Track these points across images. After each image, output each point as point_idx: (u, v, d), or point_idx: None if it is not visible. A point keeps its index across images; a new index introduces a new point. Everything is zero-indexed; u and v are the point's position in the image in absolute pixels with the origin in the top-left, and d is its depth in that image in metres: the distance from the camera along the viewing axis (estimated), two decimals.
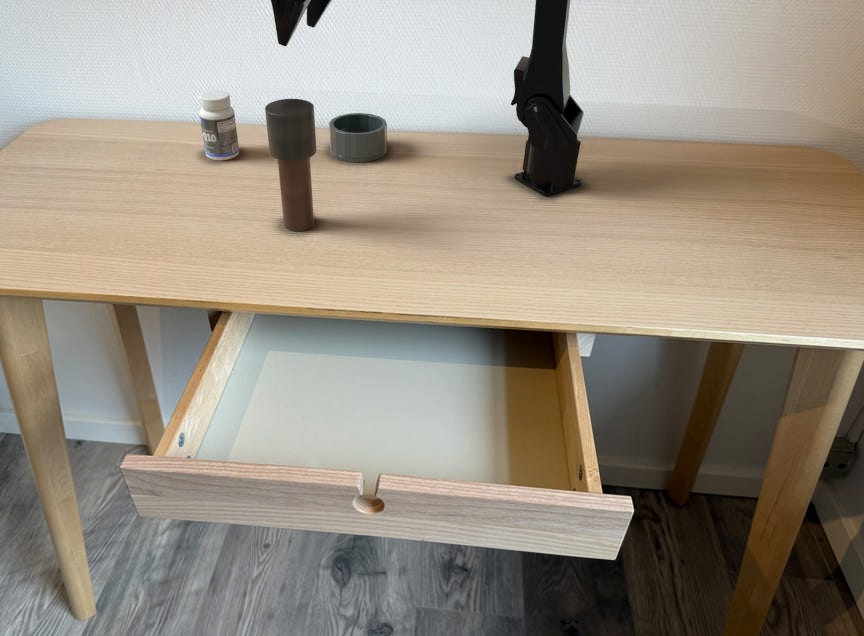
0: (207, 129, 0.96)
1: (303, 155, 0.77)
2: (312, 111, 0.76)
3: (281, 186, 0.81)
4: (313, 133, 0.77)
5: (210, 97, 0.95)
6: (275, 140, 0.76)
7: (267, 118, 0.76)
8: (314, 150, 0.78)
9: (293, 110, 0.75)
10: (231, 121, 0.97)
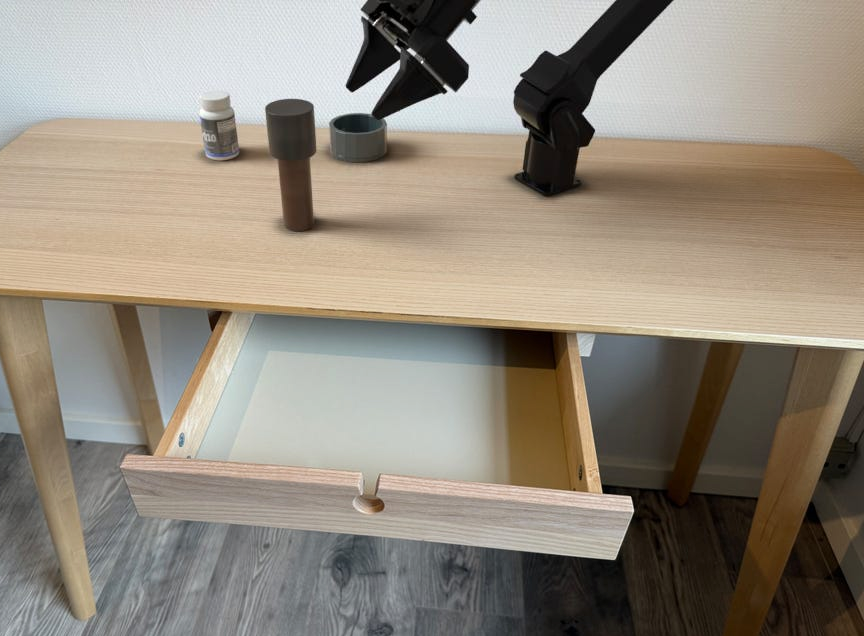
0: (207, 129, 0.96)
1: (303, 155, 0.77)
2: (312, 111, 0.76)
3: (281, 186, 0.81)
4: (313, 133, 0.77)
5: (210, 97, 0.95)
6: (275, 140, 0.76)
7: (267, 118, 0.76)
8: (314, 150, 0.78)
9: (293, 110, 0.75)
10: (231, 121, 0.97)
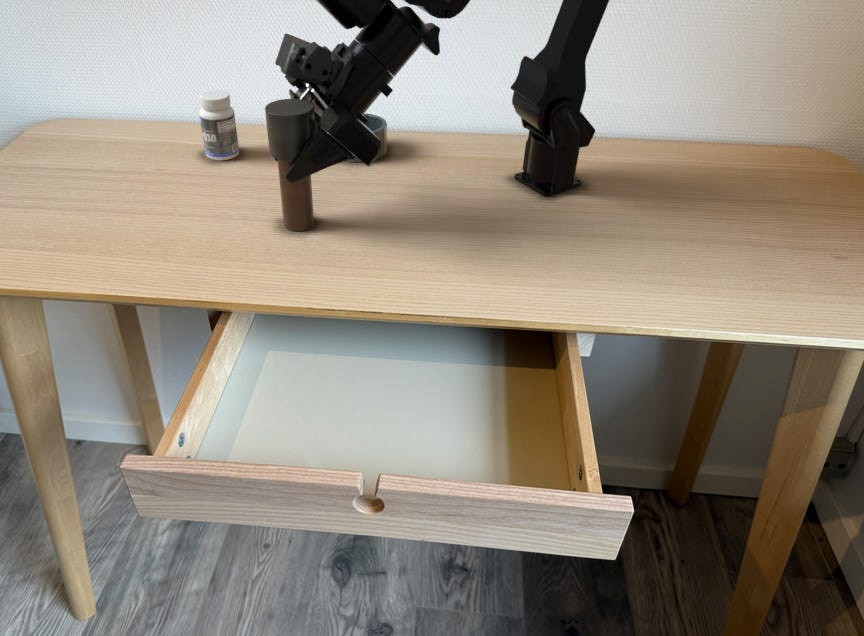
0: (207, 129, 0.96)
1: None
2: (312, 111, 0.76)
3: (281, 186, 0.81)
4: None
5: (210, 97, 0.95)
6: (275, 140, 0.76)
7: (267, 118, 0.76)
8: None
9: (293, 110, 0.75)
10: (231, 121, 0.97)
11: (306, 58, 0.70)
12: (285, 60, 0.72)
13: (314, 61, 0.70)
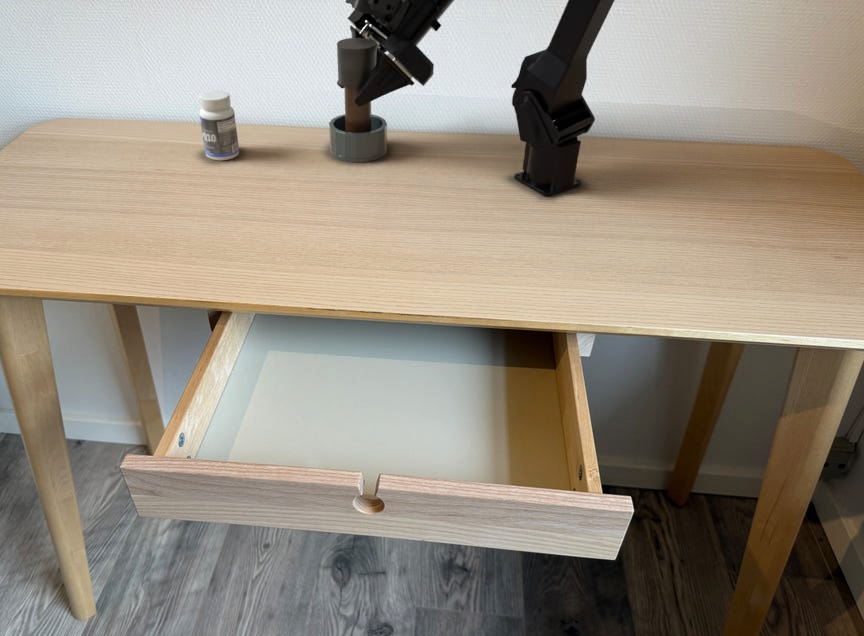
0: (207, 129, 0.96)
1: None
2: (376, 46, 0.92)
3: (346, 112, 0.97)
4: (375, 65, 0.94)
5: (210, 97, 0.95)
6: (345, 70, 0.93)
7: (339, 52, 0.92)
8: None
9: (360, 45, 0.92)
10: (231, 121, 0.97)
11: None
12: None
13: None
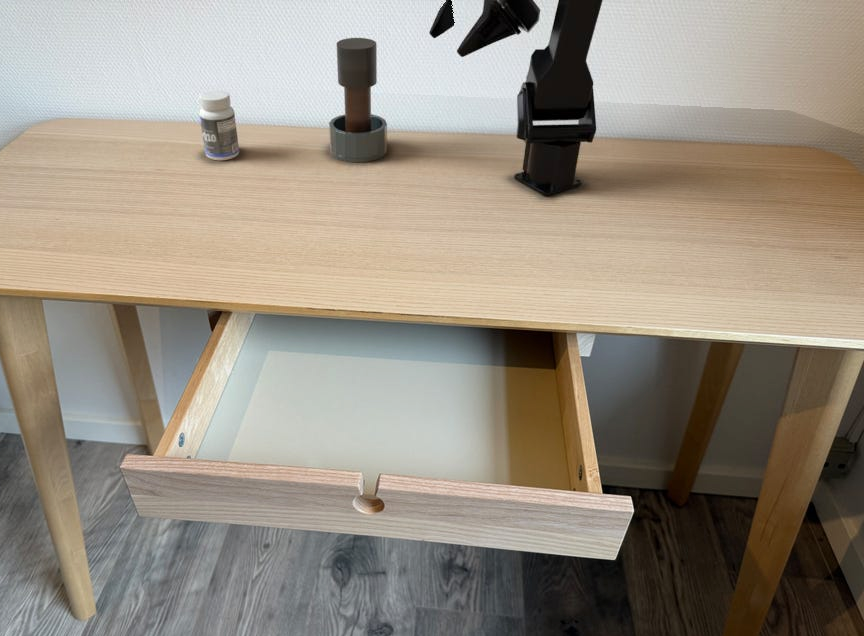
0: (207, 129, 0.96)
1: (367, 84, 0.94)
2: (375, 46, 0.92)
3: (346, 112, 0.97)
4: (375, 65, 0.94)
5: (210, 97, 0.95)
6: (344, 70, 0.93)
7: (338, 52, 0.92)
8: (375, 80, 0.95)
9: (360, 45, 0.92)
10: (231, 121, 0.97)
11: None
12: None
13: None
